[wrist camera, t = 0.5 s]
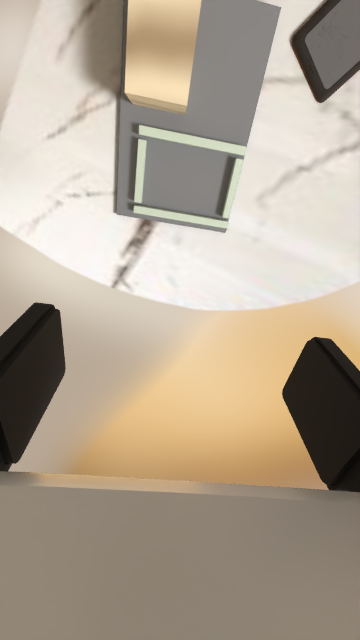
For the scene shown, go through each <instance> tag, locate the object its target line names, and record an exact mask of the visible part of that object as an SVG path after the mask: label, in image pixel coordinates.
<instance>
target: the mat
mask: <svg viewBox="0 0 360 640" xmlns="http://www.w3.org/2000/svg"><path fill="white" fill-rule="evenodd" d="M280 10H281V7H278V6H274V5H270V4H267V3H263V2H259V1H255V0H202V1H201V8H200V15H199V22H198V30H197V37H196V44H195V51H194V59H193V66H192V73H191V80H190V88H189V95H188V102H187V108H186V113H185V115H182V114H177V113H172V112H168V111H163V110H158V109H153V108H149V107H144V106H139V105H135V104H132V103H131V101H130V100H129V98H128V97H127V95H126V94H125V68H126V43H127V18H128V0H124V10H123V39H122V68H121V98H120V127H119V156H118V186H117V215H123V216H129V217H135V218H141V219H147V220H153V221H159V222H165V223H171V224H177V225H183V226H189V227H195V228H201V229H207V230H213V231H218V232H224V233H225V232H226V229H227V225H228V220H229V217H230V213H231V209H232V204H233V200H234V196H235V192H236V188H237V184H238V180H239V176H240V172H241V168H242V164H243V159H244V156H245V152H246V148H247V143H248V139H249V135H250V131H251V127H252V123H253V119H254V115H255V111H256V107H257V103H258V99H259V94H260V90H261V86H262V82H263V78H264V74H265V70H266V66H267V62H268V58H269V54H270V50H271V46H272V42H273V38H274V34H275V30H276V26H277V22H278V18H279V14H280Z"/></svg>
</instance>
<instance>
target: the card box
mask: <svg viewBox="0 0 360 640" xmlns="http://www.w3.org/2000/svg"><path fill="white" fill-rule="evenodd" d="M201 1H202V0H128V18H127V43H126V68H125V94H126V95H127V97H128V98H129V100H130V101H131V103H132V104H135V105H139V106H144V107H149V108H153V109H158V110H163V111H168V112H172V113H177V114H182V115H185V113H186V108H187V102H188V95H189V88H190V80H191V73H192V66H193V59H194V51H195V44H196V37H197V30H198V22H199V15H200V8H201Z"/></svg>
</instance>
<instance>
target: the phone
mask: <svg viewBox="0 0 360 640" xmlns="http://www.w3.org/2000/svg"><path fill="white" fill-rule="evenodd" d="M292 47H293V49H294V52H295V54H296V56H297V58H298V60H299V63H300V65H301V67H302V69H303V72H304V74H305V76H306V78H307V80H308V83H309V85H310V87H311V89H312V92H313V94H314V96H315V98H316V100H317V102H319V103H322V102H324V101H325V100H327V99H328V98H329V97H330V96H331V95H332V94H333V93H334V92H335V91H337V90H338V89H339V88H340V87H341V86H342V85H343V84H344V83H345V82H346V81H348V80H349V79H350V78H351V77H352V76H353V75H354V74H355V73H356V72H358V71H359V70H360V0H328V1H327V2H326V3H325V4H324V5H323V6H322V7H321V8H320V9H319V10H318V11H317V12H316V13H315V14H314V15H313V16H312V17H311V18H310V19H309V21H308V22H307V23H306V24H305V25H304V26H303V27H302V28H301V29H300V30H299V31H298V32H297V33H296V34H295V35H294V37H293V39H292Z"/></svg>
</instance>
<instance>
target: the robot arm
mask: <svg viewBox="0 0 360 640" xmlns="http://www.w3.org/2000/svg"><path fill="white" fill-rule="evenodd" d="M64 373H65V357H64V347H63V337H62V327H61V317H60V311H59V310H58V309H55V307H54V305H52V304H44V303H34V304H33V305H32V306H31V307H30V308H29V309H28V310H27V311H26V312H25V313H24V314H23V315H22V316H21V317H20V318H19V319H18V320H17V321H16V322H15V323H13V324H12V325H11V327H10V328H9V329H7V331H5V332H4V333H3V335H1V336H0V640H360V371H359V370H358V369H357V368H356V366H355V365H354V364H353V363H352V362H351V361H350V360H349V359H348V357H347V356H346V355H345V354H344V353H343V352H342V351H341V350H340V348H339V347H338V346H337V345H336V344H335V343H334V342H333V341H332V340H331V339H328V338H319V337H314V338H312V339H311V340H309V341H307V343H306V345H305V346H304V348H303V350H302V353H301V354H300V356H299V358H298V360H297V362H296V364H295V366H294V368H293V370H292V372H291V374H290V376H289V378H288V380H287V382H286V384H285V386H284V388H283V392H282V395H283V399H284V401H285V403H286V405H287V407H288V409H289V412H290V414H291V416H292V418H293V420H294V422H295V425H296V427H297V429H298V431H299V433H300V435H301V438H302V440H303V442H304V444H305V446H306V448H307V450H308V452H309V455H310V457H311V459H312V461H313V463H314V466H315V468H316V470H317V472H318V474H319V476H320V478H321V480H322V481H323V482H324V483H325V484H326V485H327V487H328V489H329V490H318V489H317V490H316V489H303V488H289V487H273V486H257V485H242V484H227V483H211V482H194V481H179V480H163V479H145V478H128V477H110V476H94V475H77V474H56V473H55V474H54V473H31V472H8V470H9V468H10V466H11V465H12V463H17V462H18V461H19V460H20V458H21V456H22V455H23V453H24V451H25V449H26V447H27V445H28V443H29V441H30V439H31V437H32V435H33V433H34V431H35V430H36V428H37V426H38V424H39V422H40V420H41V418H42V416H43V414H44V412H45V411H46V409H47V407H48V405H49V403H50V401H51V399H52V397H53V395H54V393H55V392H56V390H57V387H58V386H59V384H60V382H61V380H62V378H63V376H64Z"/></svg>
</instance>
